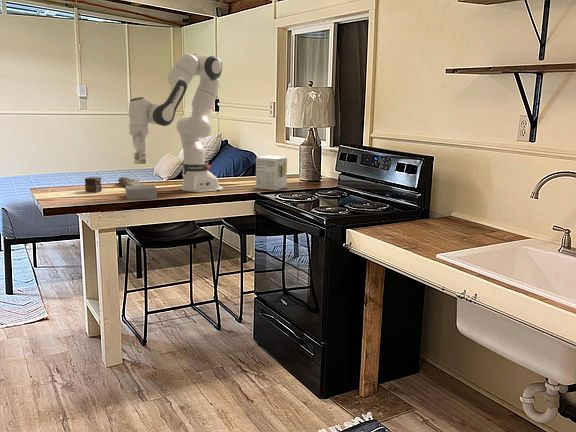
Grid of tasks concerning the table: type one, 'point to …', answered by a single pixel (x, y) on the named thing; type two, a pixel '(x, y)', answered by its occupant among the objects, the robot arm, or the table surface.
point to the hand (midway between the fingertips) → (139, 159)
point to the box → (93, 184)
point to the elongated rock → (129, 182)
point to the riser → (141, 192)
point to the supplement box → (271, 172)
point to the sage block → (136, 159)
